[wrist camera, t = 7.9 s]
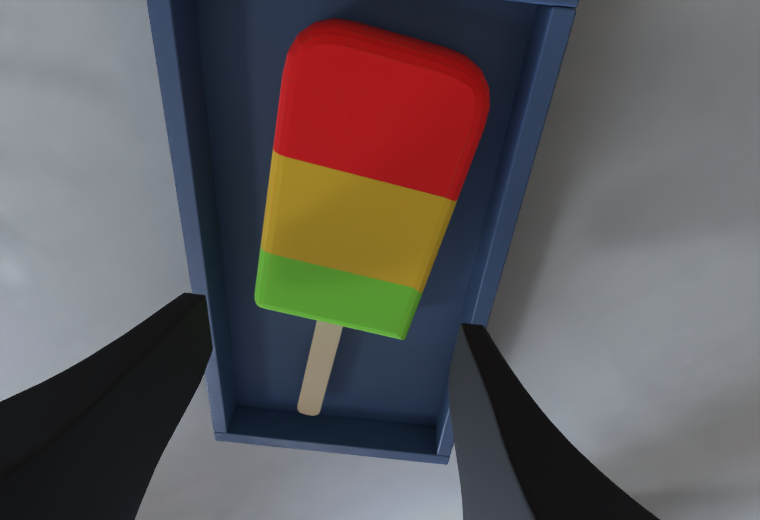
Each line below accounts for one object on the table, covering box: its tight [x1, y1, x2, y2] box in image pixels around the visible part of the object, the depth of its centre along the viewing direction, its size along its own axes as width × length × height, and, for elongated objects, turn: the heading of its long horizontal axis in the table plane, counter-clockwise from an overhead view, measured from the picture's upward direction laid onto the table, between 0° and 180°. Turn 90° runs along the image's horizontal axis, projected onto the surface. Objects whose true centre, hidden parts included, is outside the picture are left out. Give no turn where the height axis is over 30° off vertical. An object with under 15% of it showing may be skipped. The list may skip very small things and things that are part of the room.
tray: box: [147, 0, 579, 465], centre depth 16 cm, size 18×10×2 cm, turn 175°
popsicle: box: [254, 18, 490, 416], centre depth 16 cm, size 6×15×2 cm, turn 166°
